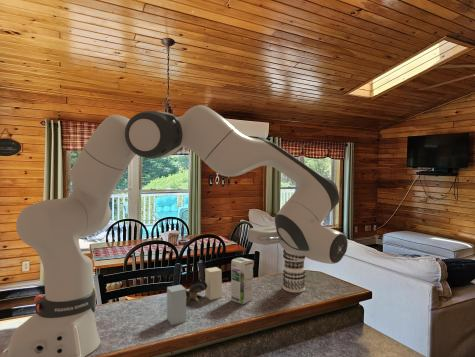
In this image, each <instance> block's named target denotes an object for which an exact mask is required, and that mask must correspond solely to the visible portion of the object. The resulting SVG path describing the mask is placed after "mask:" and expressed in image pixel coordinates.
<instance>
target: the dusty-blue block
mask: <svg viewBox="0 0 475 357" xmlns="http://www.w3.org/2000/svg"><path fill="white" fill-rule="evenodd" d="M186 290H187V289H186V288H185V287H184V286H183V285H182V284H177V285H172V286H171V285H170V286H166V319H167V321H168V322H169V324H170V325H171V326H174V325H178V324H181V323H185V322H187V305H186V303H187V300H186Z"/></svg>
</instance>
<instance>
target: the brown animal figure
mask: <svg viewBox="0 0 475 357" xmlns="http://www.w3.org/2000/svg"><path fill="white" fill-rule="evenodd" d="M206 288H207V284H206V283H205V281H197V282H196V283H194V284H191V286H190V288H189V289H188V290H187V289H186V306H187V305H188V304H189V303H190V302H191V299H193V300H195V301H196V302H198V303H200V300H199V298H198V297H201V298H202V297H203V296H202V295H200V294H198V293H201V292H205V290H206Z"/></svg>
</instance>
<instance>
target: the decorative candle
mask: <svg viewBox="0 0 475 357" xmlns="http://www.w3.org/2000/svg"><path fill="white" fill-rule="evenodd" d="M282 253H283V254H282V257H283V260H284V265H283V270H282V272H283V274H282V275H283V278H282V281H283V282H282V285H283V286H282V288H283V290H285V291H286V292H290V293H302V292H304V291H305V290H306V288H305V287H306V284H305V282H306V279H305V278H306V270H305V261H306V257H305V256H300V255H297V254H294V253H291V252H288V251H286V250H284V249H283V250H282Z"/></svg>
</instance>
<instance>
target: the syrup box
mask: <svg viewBox="0 0 475 357" xmlns="http://www.w3.org/2000/svg"><path fill="white" fill-rule="evenodd" d="M230 263H231V265H230V266H231V268H230V269H231V272H230V273H231V275H230V277H231V280H230V284H231V285H230V288H231V289H230V290H231V291H230V301H233V302H235V303H238V304H240V305H245V304H247V303H249V302H251V301H253V292H254V291H253V289H254V288H253V286H254V285H253V282H254V280H253V279H254V260H253V259H249V258H244V257H236V258H233V259H232V260H231V262H230Z"/></svg>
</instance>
